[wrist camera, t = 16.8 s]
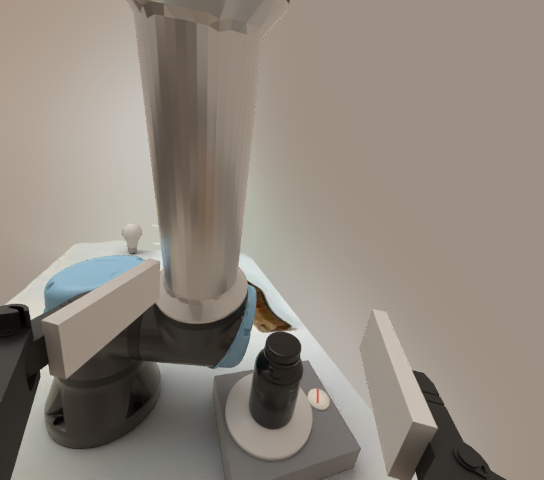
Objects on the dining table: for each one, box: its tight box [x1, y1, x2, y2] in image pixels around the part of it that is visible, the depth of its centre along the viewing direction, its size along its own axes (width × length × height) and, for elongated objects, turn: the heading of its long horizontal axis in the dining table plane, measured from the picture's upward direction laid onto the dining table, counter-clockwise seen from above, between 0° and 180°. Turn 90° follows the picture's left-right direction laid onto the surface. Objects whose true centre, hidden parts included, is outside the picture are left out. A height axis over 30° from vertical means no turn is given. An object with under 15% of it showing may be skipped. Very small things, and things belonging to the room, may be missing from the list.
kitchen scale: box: [213, 361, 361, 480], centre depth 40 cm, size 18×16×5 cm
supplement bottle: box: [249, 332, 304, 430], centre depth 36 cm, size 7×7×12 cm
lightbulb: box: [122, 223, 142, 254], centre depth 88 cm, size 6×6×11 cm
